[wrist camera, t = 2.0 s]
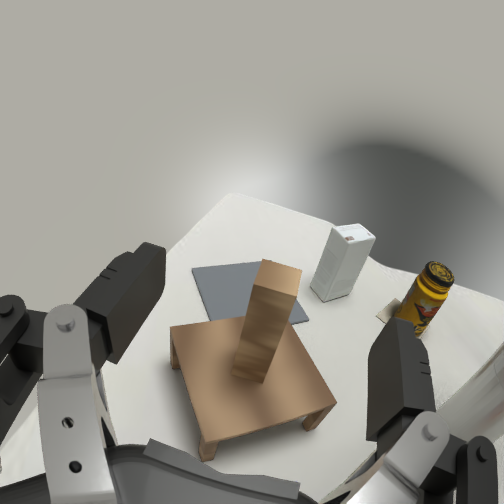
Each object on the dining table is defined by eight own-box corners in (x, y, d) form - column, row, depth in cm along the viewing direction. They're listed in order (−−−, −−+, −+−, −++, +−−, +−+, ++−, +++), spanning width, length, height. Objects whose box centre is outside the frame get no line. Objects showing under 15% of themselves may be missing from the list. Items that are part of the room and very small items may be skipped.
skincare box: (335, 279, 56) (358, 221, 49) (350, 296, 53) (377, 237, 46) (307, 286, 53) (330, 224, 46) (323, 304, 50) (350, 242, 43)
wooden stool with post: (270, 342, 42) (310, 224, 32) (315, 428, 33) (394, 323, 22) (170, 361, 37) (172, 232, 26) (202, 462, 28) (219, 370, 17)
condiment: (413, 347, 46) (452, 292, 39) (375, 316, 50) (407, 258, 43) (429, 326, 50) (464, 274, 43) (394, 299, 55) (423, 245, 48)
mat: (270, 262, 57) (271, 260, 57) (308, 321, 47) (309, 319, 47) (191, 270, 51) (191, 268, 51) (217, 338, 41) (217, 336, 41)
